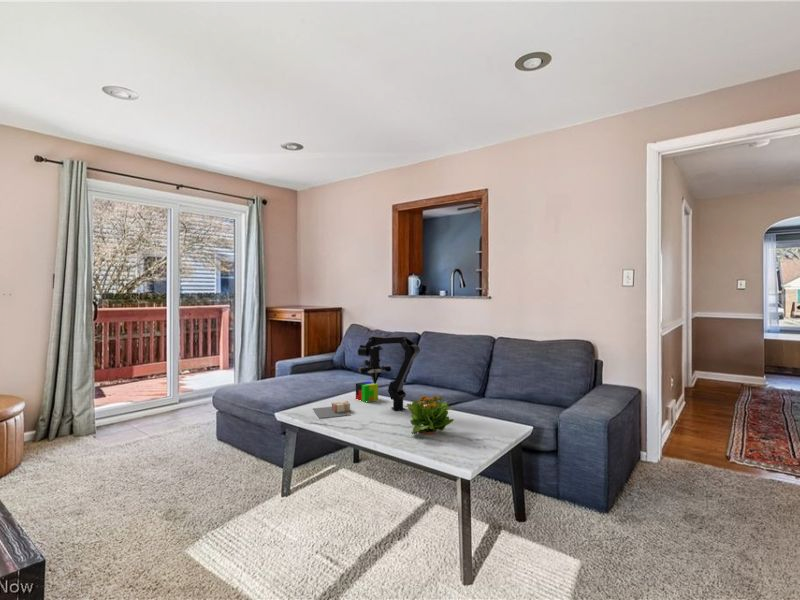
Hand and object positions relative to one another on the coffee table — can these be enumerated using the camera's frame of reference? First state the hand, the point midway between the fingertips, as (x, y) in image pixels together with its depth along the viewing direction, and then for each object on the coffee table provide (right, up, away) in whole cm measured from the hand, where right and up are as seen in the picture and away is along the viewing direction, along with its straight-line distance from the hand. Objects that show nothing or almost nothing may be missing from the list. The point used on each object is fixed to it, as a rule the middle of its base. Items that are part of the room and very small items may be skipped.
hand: (374, 383), depth 247 cm
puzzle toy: (-6, -13, +15) cm, 21 cm away
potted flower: (+28, -14, -46) cm, 55 cm away
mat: (-24, -13, -14) cm, 30 cm away
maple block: (-14, -10, -10) cm, 20 cm away
